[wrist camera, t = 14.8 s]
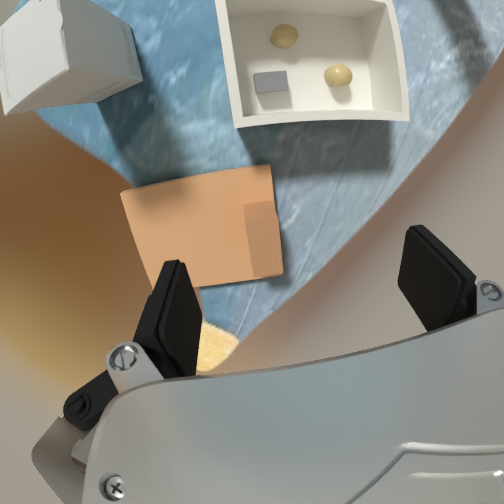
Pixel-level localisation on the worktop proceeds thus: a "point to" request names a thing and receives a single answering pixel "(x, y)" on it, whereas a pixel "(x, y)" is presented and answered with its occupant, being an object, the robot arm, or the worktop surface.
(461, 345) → the robot arm
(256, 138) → the worktop surface
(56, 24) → the skincare box
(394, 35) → the tub
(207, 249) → the lid
